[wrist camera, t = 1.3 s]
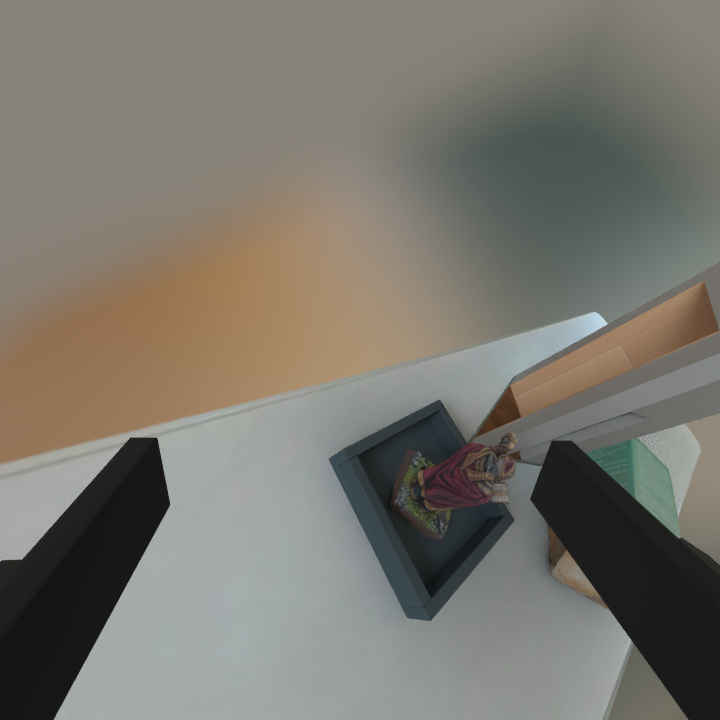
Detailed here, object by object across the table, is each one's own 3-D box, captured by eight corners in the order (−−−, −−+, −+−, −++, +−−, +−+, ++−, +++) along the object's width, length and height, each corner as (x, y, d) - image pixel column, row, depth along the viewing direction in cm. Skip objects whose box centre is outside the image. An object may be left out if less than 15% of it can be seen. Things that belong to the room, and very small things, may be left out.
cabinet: (514, 376, 52) (753, 243, 32) (556, 425, 51) (833, 320, 30) (457, 457, 38) (823, 311, 18) (515, 527, 37) (975, 458, 16)
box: (616, 480, 51) (672, 467, 46) (616, 561, 42) (686, 558, 37) (582, 446, 52) (633, 430, 46) (575, 521, 42) (638, 512, 37)
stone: (643, 584, 39) (704, 622, 31) (558, 616, 39) (598, 662, 31) (582, 469, 42) (624, 478, 34) (504, 500, 42) (528, 515, 35)
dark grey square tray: (328, 459, 30) (342, 449, 28) (423, 409, 39) (440, 399, 37) (407, 618, 27) (430, 621, 25) (492, 524, 36) (514, 520, 33)
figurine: (383, 503, 30) (481, 472, 21) (407, 447, 34) (497, 402, 25) (436, 546, 30) (554, 533, 21) (454, 485, 35) (558, 453, 26)
